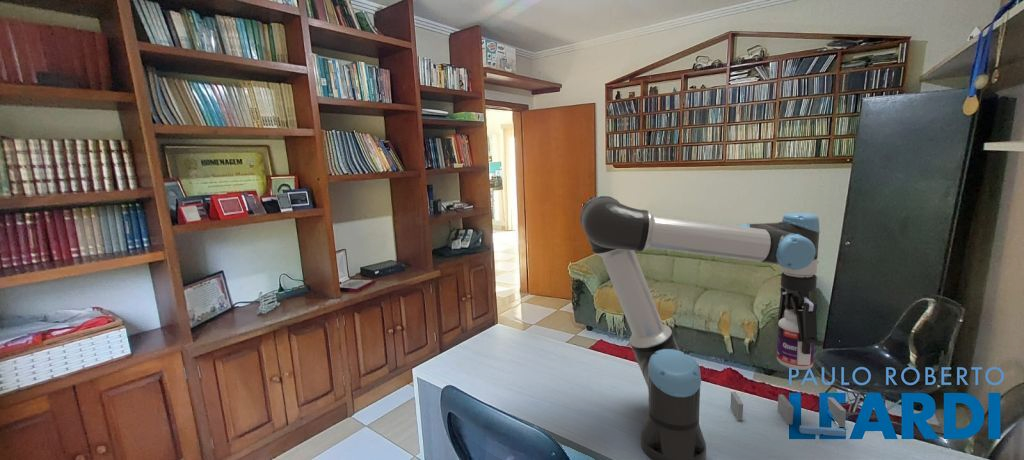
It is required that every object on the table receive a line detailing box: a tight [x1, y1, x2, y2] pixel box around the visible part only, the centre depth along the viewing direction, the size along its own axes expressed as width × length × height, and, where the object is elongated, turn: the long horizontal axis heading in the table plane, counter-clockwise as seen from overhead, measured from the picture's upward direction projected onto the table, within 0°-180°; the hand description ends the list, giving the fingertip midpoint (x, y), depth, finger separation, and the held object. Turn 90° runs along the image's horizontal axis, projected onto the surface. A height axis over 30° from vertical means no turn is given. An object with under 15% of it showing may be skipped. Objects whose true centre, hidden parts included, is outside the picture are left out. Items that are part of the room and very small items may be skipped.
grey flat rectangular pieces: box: [730, 391, 847, 437], centre depth 109 cm, size 10×26×5 cm, turn 79°
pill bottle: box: [776, 309, 816, 371], centre depth 107 cm, size 8×8×14 cm
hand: (795, 356), depth 108 cm, fingers closed on pill bottle, 8 cm apart
